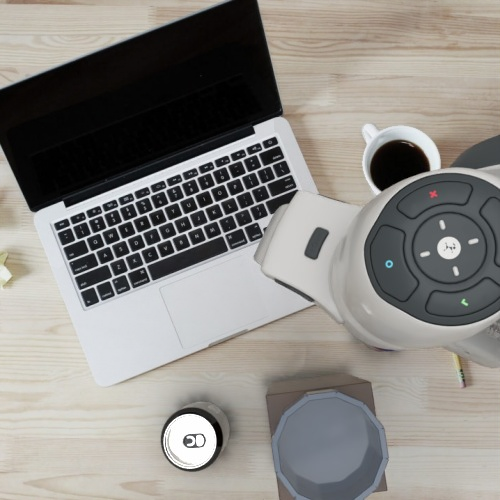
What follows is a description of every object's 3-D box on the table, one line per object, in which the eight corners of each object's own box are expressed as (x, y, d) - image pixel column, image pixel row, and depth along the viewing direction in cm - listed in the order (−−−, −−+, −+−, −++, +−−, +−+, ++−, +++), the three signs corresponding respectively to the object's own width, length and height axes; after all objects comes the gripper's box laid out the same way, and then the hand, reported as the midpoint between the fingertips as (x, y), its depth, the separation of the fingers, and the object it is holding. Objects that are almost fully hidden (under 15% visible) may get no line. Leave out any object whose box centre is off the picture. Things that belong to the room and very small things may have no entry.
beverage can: (232, 456, 86) (223, 473, 74) (175, 459, 86) (158, 476, 75) (229, 399, 87) (220, 406, 75) (173, 402, 87) (156, 409, 76)
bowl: (370, 382, 60) (377, 385, 55) (386, 490, 59) (395, 502, 54) (266, 396, 61) (265, 400, 56) (281, 503, 59) (280, 516, 54)
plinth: (344, 372, 87) (371, 381, 60) (355, 448, 86) (387, 491, 59) (271, 382, 87) (265, 395, 61) (280, 457, 86) (279, 504, 59)
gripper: (563, 306, 46) (500, 316, 60) (278, 178, 49) (280, 216, 62) (525, 395, 46) (470, 385, 59) (238, 261, 48) (249, 281, 62)
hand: (371, 298), depth 61 cm, fingers open, 8 cm apart
